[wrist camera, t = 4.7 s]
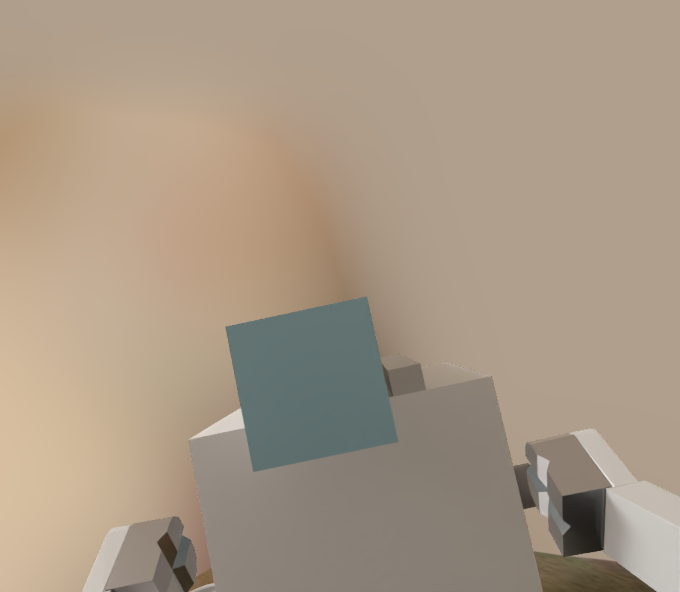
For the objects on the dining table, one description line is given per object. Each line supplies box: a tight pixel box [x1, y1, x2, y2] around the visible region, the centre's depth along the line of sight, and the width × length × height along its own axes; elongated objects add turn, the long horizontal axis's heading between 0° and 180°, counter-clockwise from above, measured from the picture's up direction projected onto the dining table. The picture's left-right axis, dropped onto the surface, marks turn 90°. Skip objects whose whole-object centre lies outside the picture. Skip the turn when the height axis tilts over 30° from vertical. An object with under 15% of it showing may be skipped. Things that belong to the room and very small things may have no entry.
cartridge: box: [226, 297, 398, 472], centre depth 24 cm, size 22×4×4 cm, turn 178°
